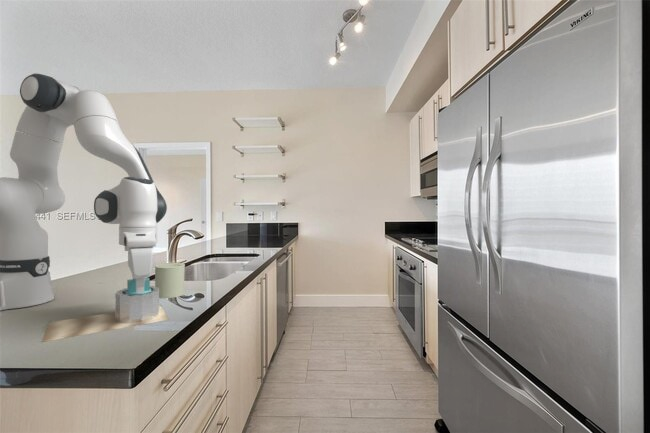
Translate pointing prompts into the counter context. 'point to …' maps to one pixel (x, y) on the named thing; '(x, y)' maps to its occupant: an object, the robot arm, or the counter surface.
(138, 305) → the white thick faceted ring
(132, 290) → the teal disc with post
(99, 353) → the counter surface
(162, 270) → the can
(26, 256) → the robot arm
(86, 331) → the base plate
